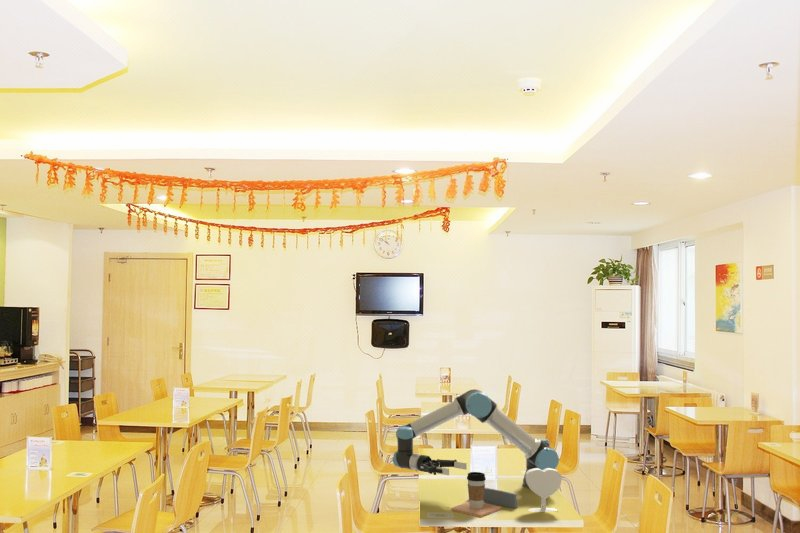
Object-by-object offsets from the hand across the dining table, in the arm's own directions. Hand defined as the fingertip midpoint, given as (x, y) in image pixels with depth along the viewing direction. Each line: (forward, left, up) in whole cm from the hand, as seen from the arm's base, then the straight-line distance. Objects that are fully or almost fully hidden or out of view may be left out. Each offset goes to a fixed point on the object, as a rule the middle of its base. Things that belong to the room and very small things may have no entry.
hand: (457, 469), depth 310 cm
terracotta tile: (-6, +8, -16) cm, 19 cm away
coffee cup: (-6, +8, -15) cm, 18 cm away
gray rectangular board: (-17, 0, -16) cm, 24 cm away
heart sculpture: (-35, +16, -17) cm, 42 cm away
